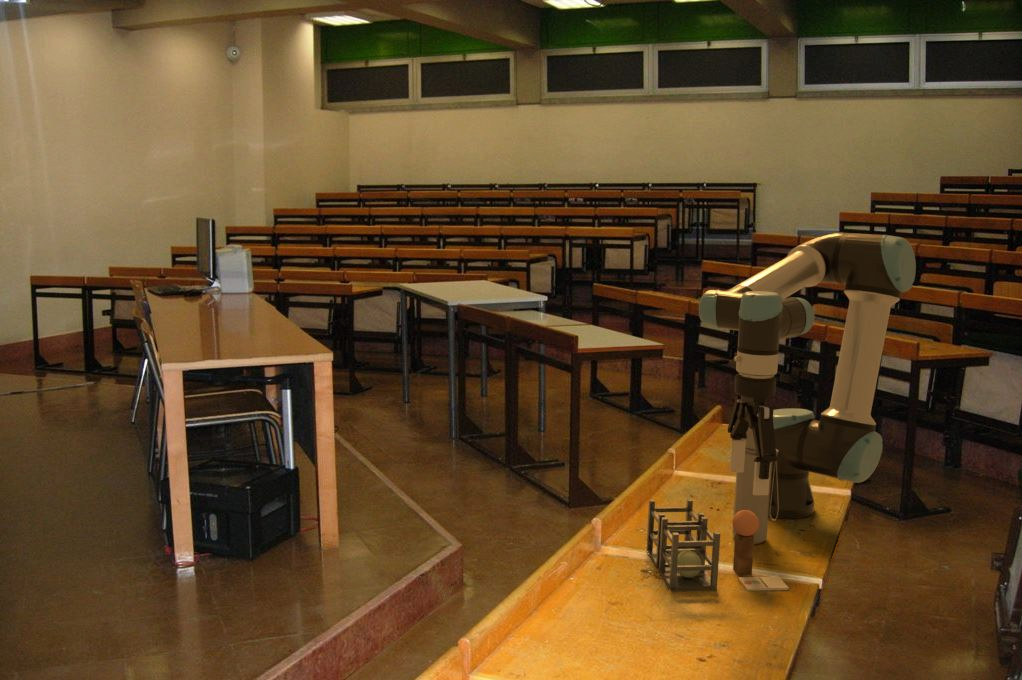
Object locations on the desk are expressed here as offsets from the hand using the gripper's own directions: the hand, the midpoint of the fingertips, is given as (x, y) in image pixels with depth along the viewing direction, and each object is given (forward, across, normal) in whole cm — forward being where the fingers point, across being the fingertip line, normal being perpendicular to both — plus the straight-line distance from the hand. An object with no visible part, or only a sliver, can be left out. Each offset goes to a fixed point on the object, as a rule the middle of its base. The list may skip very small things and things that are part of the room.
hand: (748, 483), depth 187 cm
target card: (+18, +6, +2) cm, 19 cm away
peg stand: (+18, 0, 0) cm, 18 cm away
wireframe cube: (+18, -7, -12) cm, 23 cm away
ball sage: (+15, +3, -12) cm, 19 cm away
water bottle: (+18, -16, +8) cm, 26 cm away
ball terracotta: (+8, 0, 0) cm, 8 cm away
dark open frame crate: (+18, +3, -12) cm, 22 cm away
